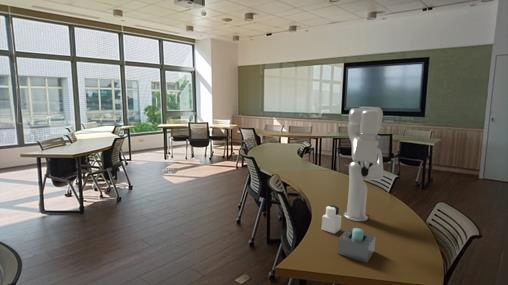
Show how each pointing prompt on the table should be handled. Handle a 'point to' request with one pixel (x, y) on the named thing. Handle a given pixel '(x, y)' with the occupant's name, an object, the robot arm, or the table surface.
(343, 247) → the socket
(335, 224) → the medicine bottle
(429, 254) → the table surface
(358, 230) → the plug
